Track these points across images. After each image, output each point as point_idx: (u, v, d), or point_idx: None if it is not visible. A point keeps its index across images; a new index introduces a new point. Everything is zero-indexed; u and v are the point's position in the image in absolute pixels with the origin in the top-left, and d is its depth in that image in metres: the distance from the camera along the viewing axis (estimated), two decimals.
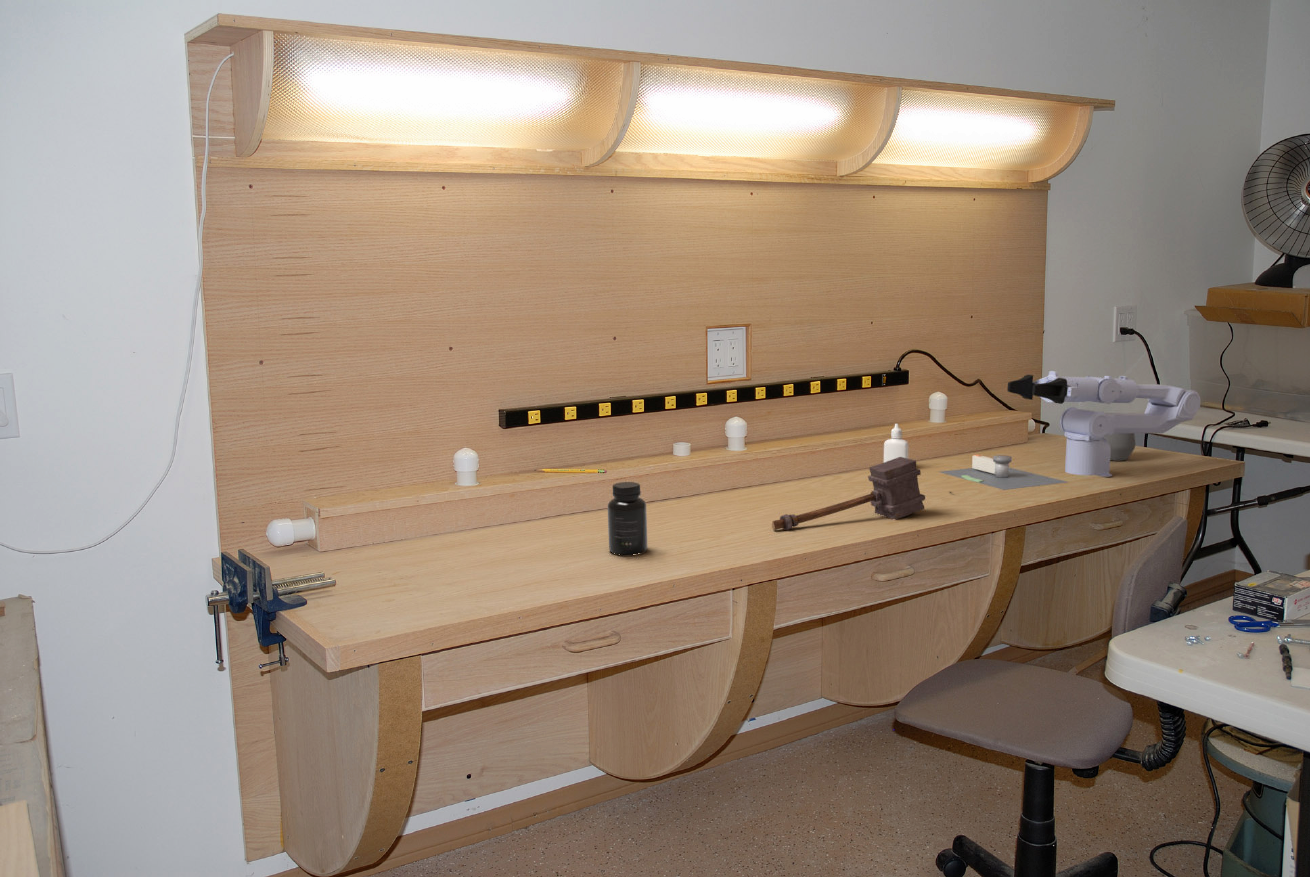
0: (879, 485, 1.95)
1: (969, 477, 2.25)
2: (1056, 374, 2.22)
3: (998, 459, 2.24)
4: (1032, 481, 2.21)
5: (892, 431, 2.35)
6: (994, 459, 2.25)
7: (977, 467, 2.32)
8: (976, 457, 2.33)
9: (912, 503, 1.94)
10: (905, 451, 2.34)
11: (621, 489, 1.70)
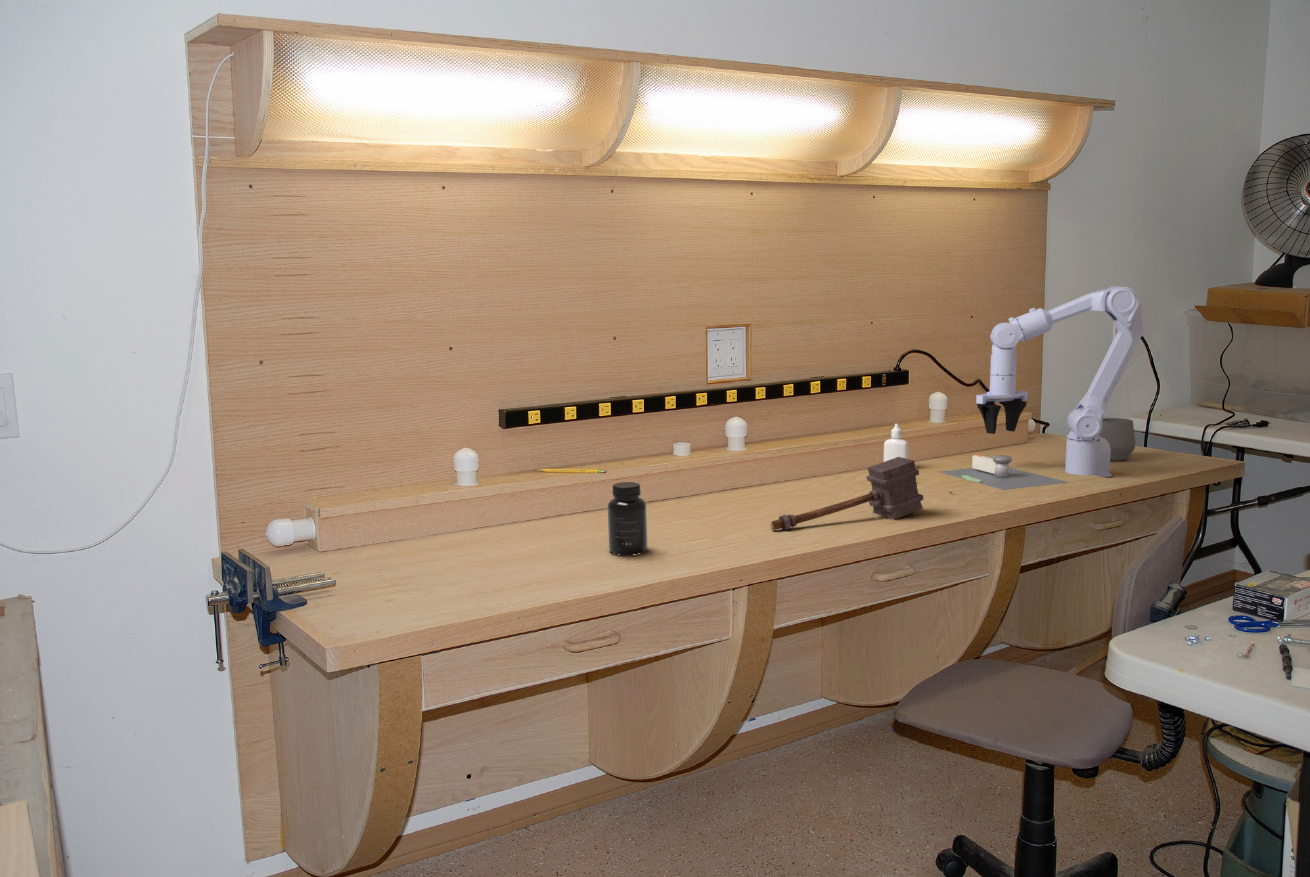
0: (877, 485, 1.95)
1: (969, 477, 2.25)
2: None
3: (998, 459, 2.24)
4: (1032, 481, 2.21)
5: (892, 431, 2.35)
6: (994, 459, 2.25)
7: (977, 467, 2.32)
8: (976, 457, 2.33)
9: (910, 503, 1.94)
10: (905, 451, 2.34)
11: (621, 489, 1.70)
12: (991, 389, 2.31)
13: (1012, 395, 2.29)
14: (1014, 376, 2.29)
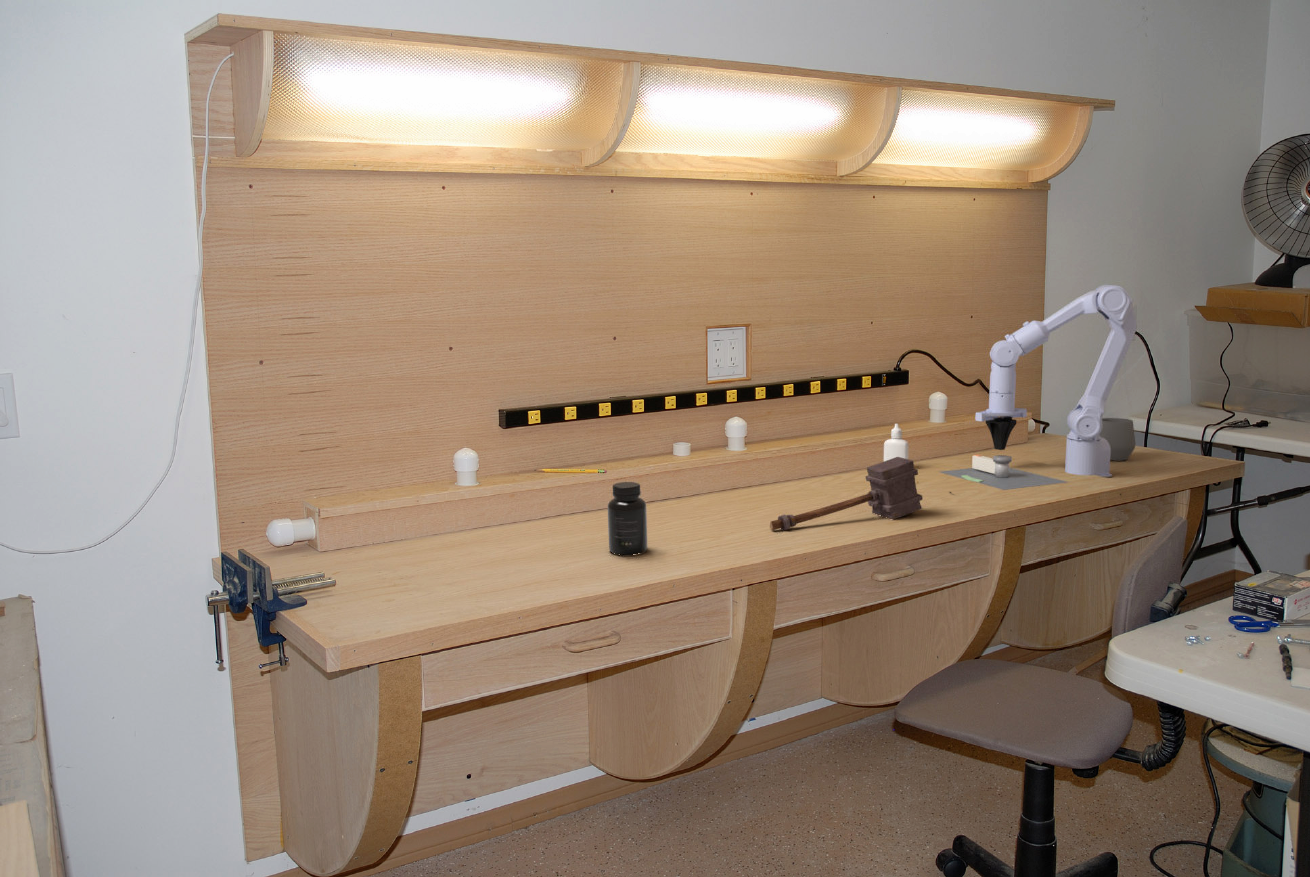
0: (876, 485, 1.95)
1: (969, 477, 2.25)
2: None
3: (998, 459, 2.24)
4: (1032, 481, 2.21)
5: (892, 431, 2.35)
6: (994, 459, 2.25)
7: (977, 467, 2.32)
8: (976, 457, 2.33)
9: (909, 503, 1.94)
10: (905, 451, 2.34)
11: (621, 489, 1.70)
12: (990, 406, 2.32)
13: (1011, 413, 2.30)
14: (1013, 394, 2.30)
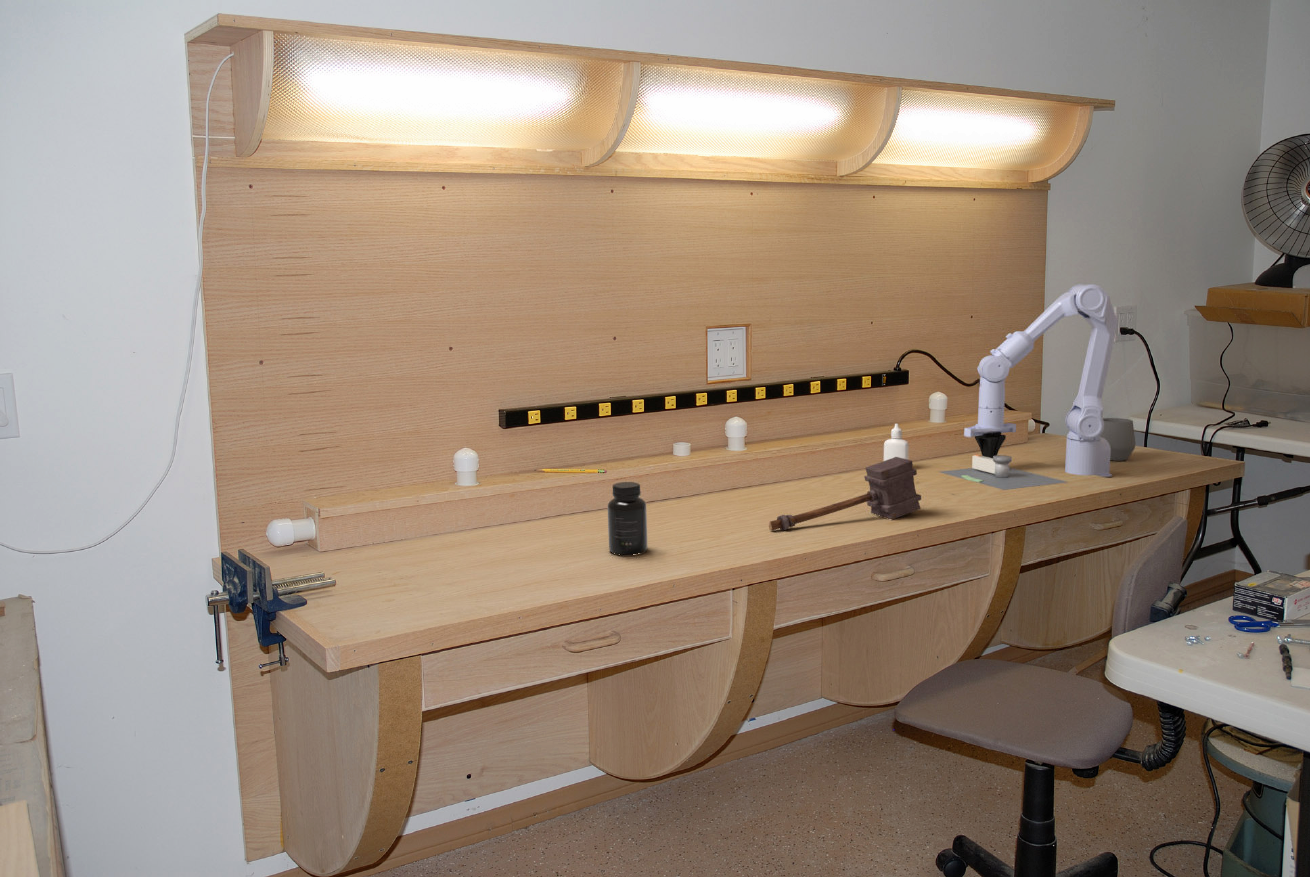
0: (875, 485, 1.95)
1: (969, 477, 2.25)
2: (976, 426, 2.34)
3: (998, 459, 2.24)
4: (1032, 481, 2.21)
5: (892, 431, 2.35)
6: (994, 459, 2.25)
7: (977, 467, 2.32)
8: (976, 457, 2.33)
9: (908, 503, 1.94)
10: (905, 451, 2.34)
11: (621, 489, 1.70)
12: (979, 422, 2.31)
13: (1000, 428, 2.29)
14: (1002, 409, 2.29)
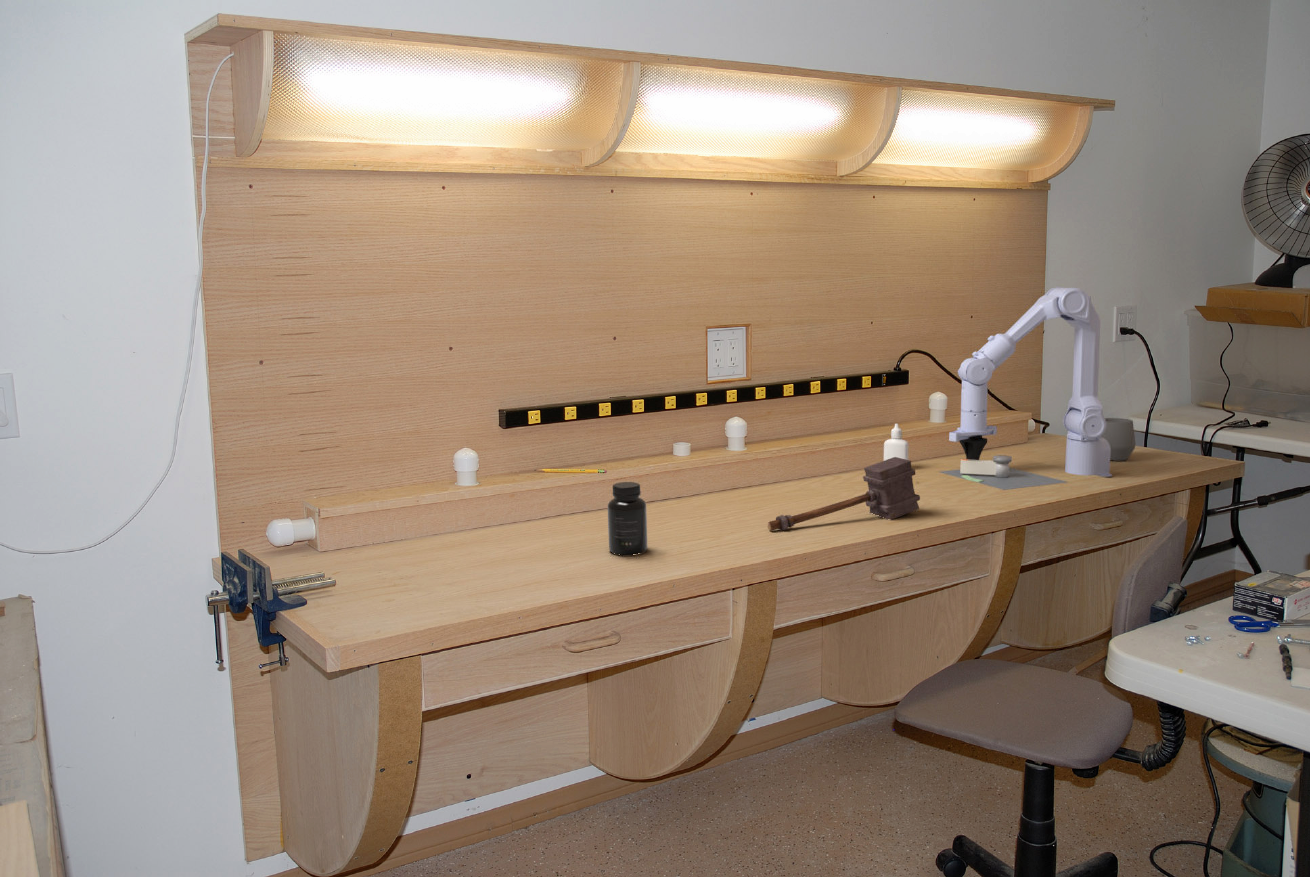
0: (874, 485, 1.95)
1: (969, 477, 2.25)
2: (958, 429, 2.31)
3: (1006, 459, 2.24)
4: (1032, 481, 2.21)
5: (892, 431, 2.35)
6: (1000, 460, 2.24)
7: (968, 471, 2.28)
8: (966, 461, 2.28)
9: (907, 503, 1.94)
10: (905, 451, 2.34)
11: (621, 489, 1.70)
12: (963, 425, 2.27)
13: (984, 431, 2.26)
14: (985, 412, 2.26)
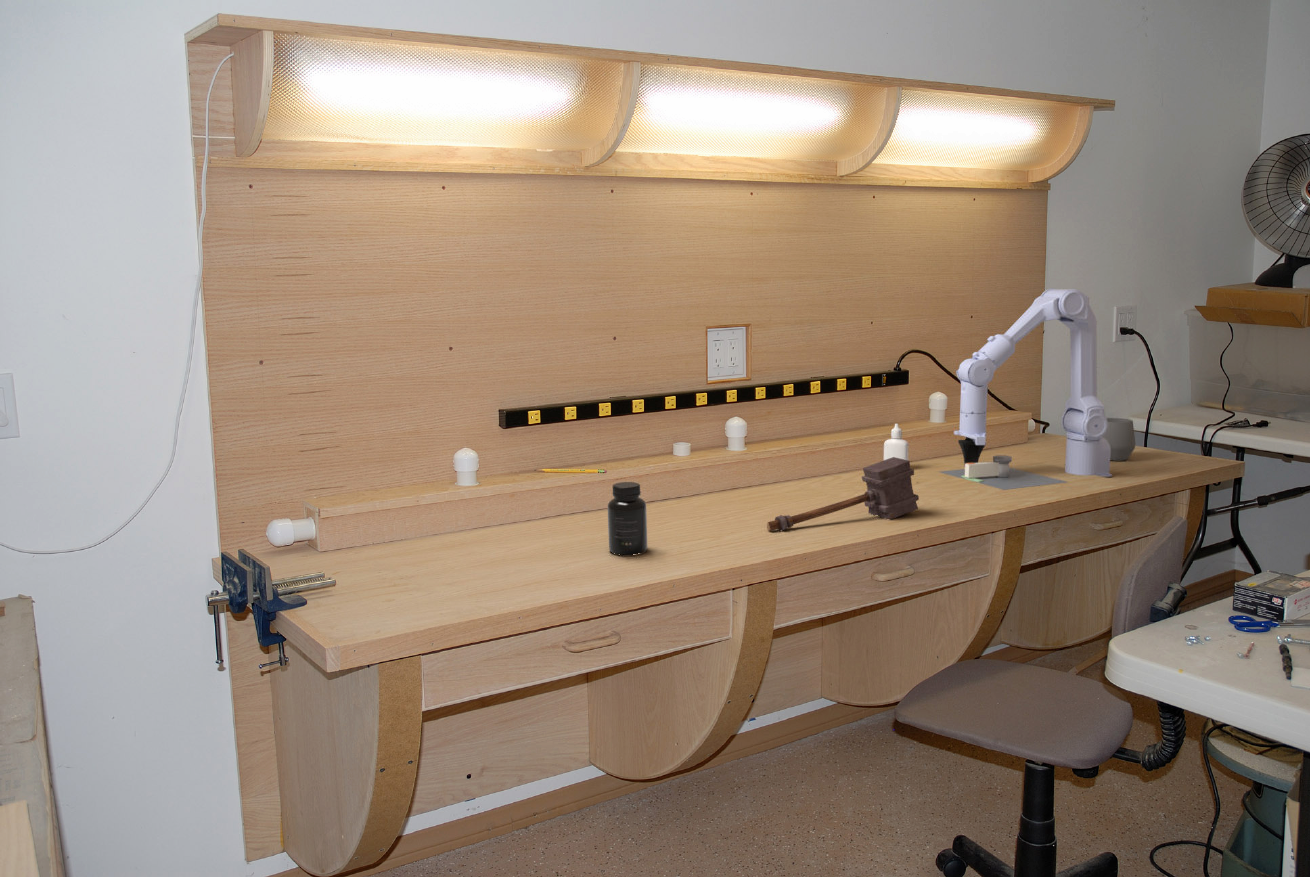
0: (873, 485, 1.95)
1: None
2: (958, 433, 2.24)
3: (1010, 459, 2.24)
4: (1032, 481, 2.21)
5: (892, 431, 2.35)
6: (1006, 460, 2.24)
7: (975, 475, 2.24)
8: (974, 465, 2.23)
9: (906, 503, 1.94)
10: (905, 451, 2.34)
11: (621, 489, 1.70)
12: (972, 428, 2.22)
13: None
14: None
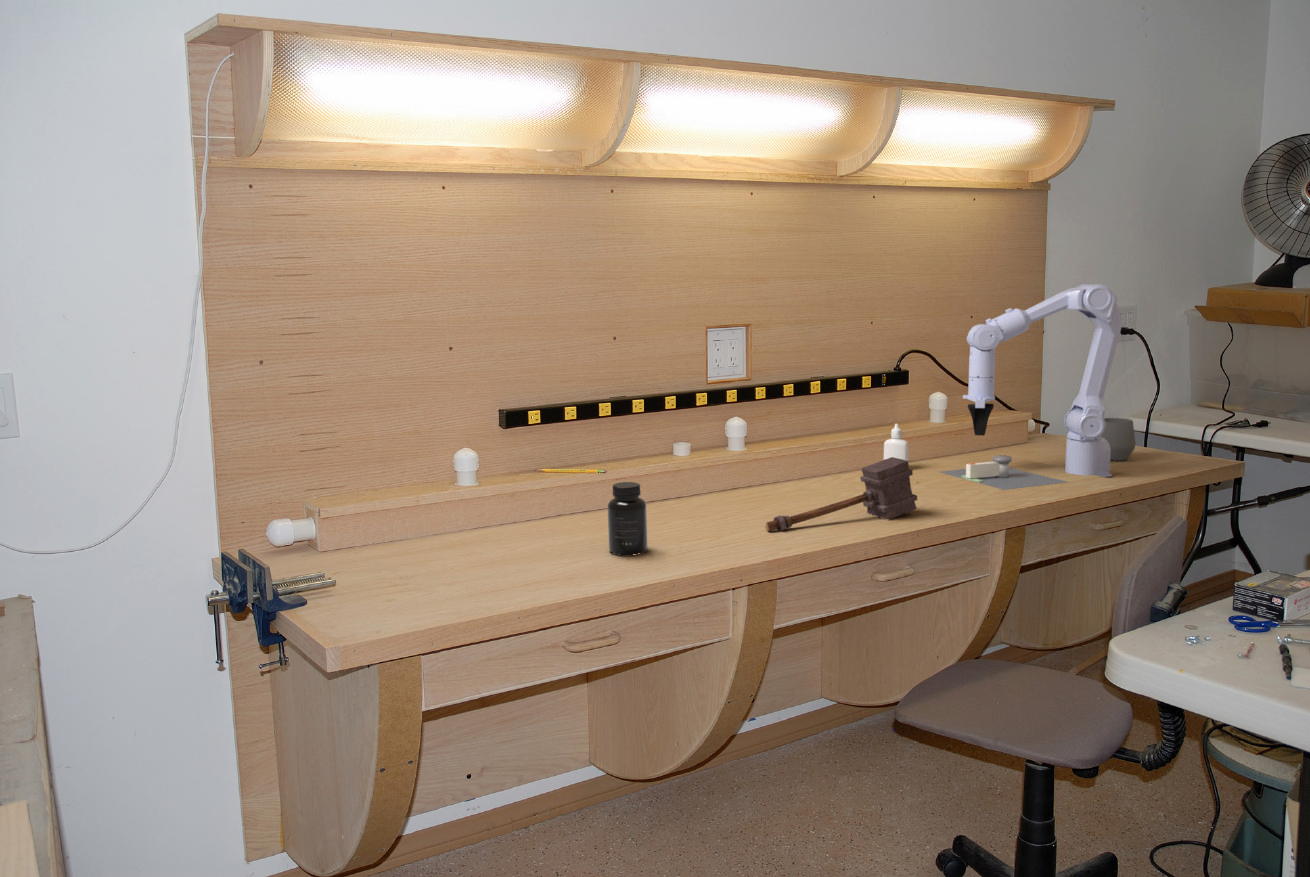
0: (871, 485, 1.95)
1: None
2: (965, 397, 2.29)
3: (1010, 459, 2.24)
4: (1032, 481, 2.21)
5: (892, 431, 2.35)
6: (1006, 460, 2.24)
7: (977, 475, 2.23)
8: (975, 465, 2.23)
9: (904, 503, 1.94)
10: (905, 451, 2.34)
11: (621, 489, 1.70)
12: (977, 392, 2.27)
13: (994, 396, 2.28)
14: None
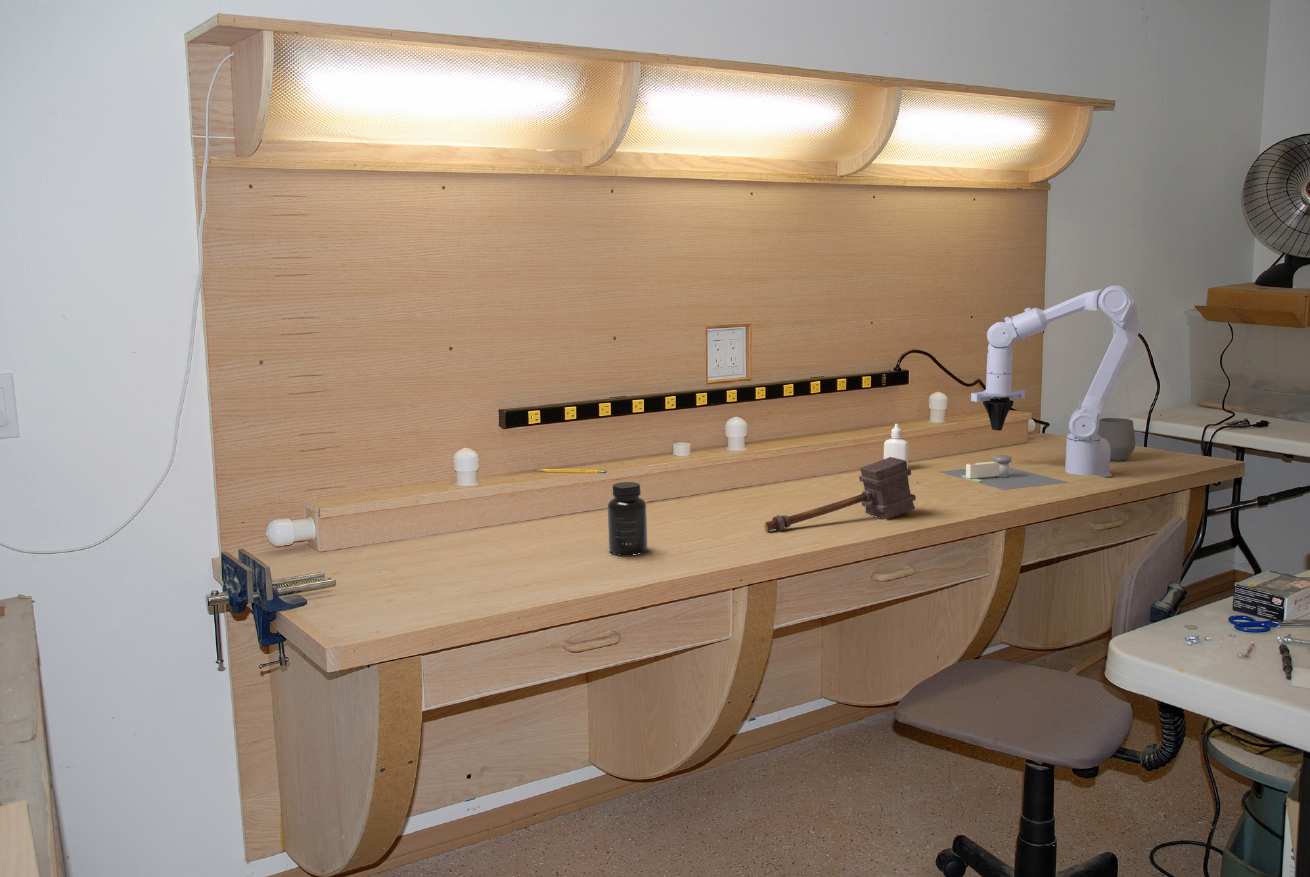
0: (870, 485, 1.95)
1: None
2: None
3: (1010, 459, 2.24)
4: (1032, 481, 2.21)
5: (892, 431, 2.35)
6: (1006, 460, 2.24)
7: (977, 475, 2.23)
8: (975, 465, 2.23)
9: (903, 503, 1.95)
10: (905, 451, 2.34)
11: (621, 489, 1.70)
12: (987, 387, 2.35)
13: (1007, 393, 2.32)
14: (1009, 375, 2.32)
